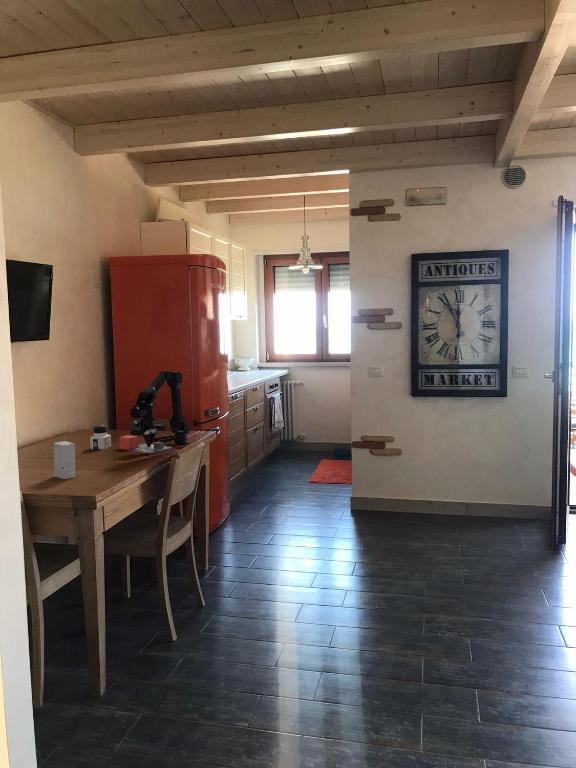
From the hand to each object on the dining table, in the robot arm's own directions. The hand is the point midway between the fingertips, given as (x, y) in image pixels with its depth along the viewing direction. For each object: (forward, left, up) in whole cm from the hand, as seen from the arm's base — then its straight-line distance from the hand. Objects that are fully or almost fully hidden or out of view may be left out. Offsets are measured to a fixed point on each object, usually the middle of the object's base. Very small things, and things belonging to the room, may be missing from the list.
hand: (148, 446), depth 310 cm
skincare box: (+51, +4, -4) cm, 51 cm away
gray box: (-6, 0, -2) cm, 7 cm away
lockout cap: (0, -15, -2) cm, 15 cm away
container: (+6, -29, -4) cm, 30 cm away
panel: (-5, -7, -4) cm, 10 cm away
